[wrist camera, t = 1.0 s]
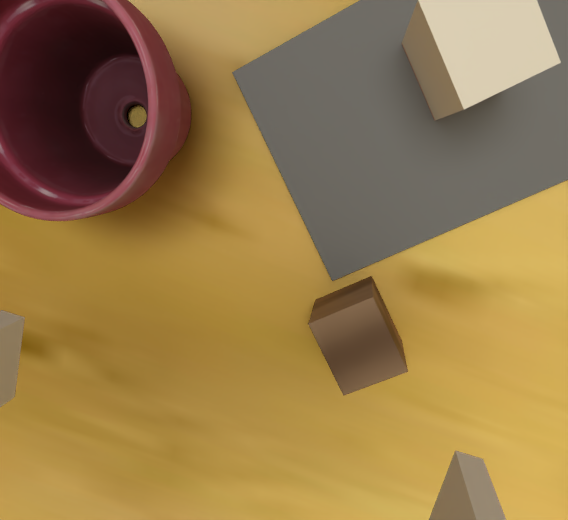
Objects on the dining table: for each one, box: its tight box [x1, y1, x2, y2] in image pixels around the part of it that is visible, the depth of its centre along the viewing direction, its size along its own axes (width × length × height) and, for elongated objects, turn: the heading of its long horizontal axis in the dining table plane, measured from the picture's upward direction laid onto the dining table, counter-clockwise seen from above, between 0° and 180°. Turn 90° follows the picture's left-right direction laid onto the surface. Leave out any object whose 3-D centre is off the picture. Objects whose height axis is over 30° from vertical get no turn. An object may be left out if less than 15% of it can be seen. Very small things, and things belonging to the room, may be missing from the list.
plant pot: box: [0, 0, 191, 221], centre depth 34 cm, size 14×14×13 cm
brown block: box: [308, 276, 408, 395], centre depth 39 cm, size 6×5×6 cm
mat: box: [232, 0, 568, 281], centre depth 37 cm, size 18×23×1 cm
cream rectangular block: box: [402, 0, 561, 120], centre depth 30 cm, size 6×5×11 cm
